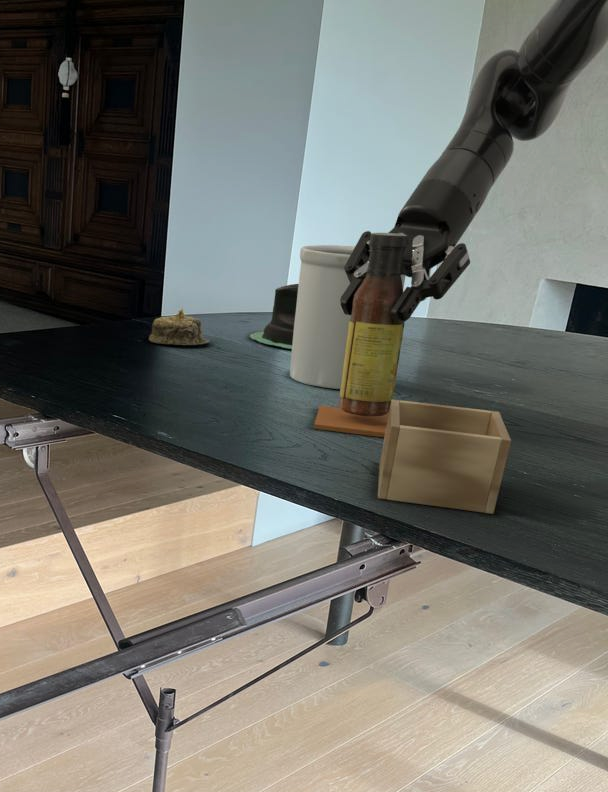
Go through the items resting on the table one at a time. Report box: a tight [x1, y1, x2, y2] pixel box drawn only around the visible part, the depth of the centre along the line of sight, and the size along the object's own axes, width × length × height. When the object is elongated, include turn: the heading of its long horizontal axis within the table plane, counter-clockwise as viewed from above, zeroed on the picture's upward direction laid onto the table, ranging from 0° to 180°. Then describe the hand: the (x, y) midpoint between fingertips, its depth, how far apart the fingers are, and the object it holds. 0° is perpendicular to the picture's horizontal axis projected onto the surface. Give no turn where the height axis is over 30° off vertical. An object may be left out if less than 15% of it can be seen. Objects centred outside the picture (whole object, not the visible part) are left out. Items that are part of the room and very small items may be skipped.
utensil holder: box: [289, 244, 406, 390], centre depth 138 cm, size 15×15×18 cm
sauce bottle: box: [338, 232, 408, 416], centre depth 114 cm, size 7×6×20 cm
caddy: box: [377, 398, 512, 515], centre depth 96 cm, size 11×12×7 cm
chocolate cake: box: [249, 283, 299, 350], centre depth 167 cm, size 15×19×20 cm
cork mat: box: [313, 405, 389, 438], centre depth 119 cm, size 10×10×1 cm
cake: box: [148, 308, 211, 346], centre depth 160 cm, size 10×10×5 cm
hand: (369, 314), depth 113 cm, fingers closed on sauce bottle, 6 cm apart
